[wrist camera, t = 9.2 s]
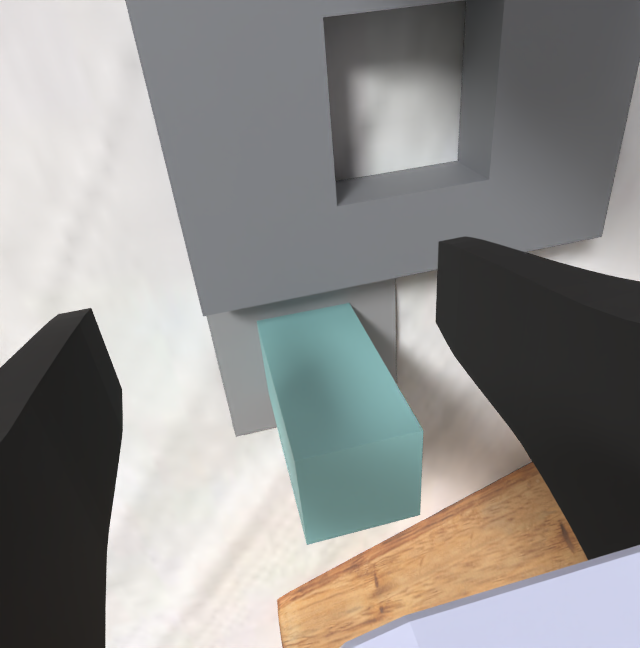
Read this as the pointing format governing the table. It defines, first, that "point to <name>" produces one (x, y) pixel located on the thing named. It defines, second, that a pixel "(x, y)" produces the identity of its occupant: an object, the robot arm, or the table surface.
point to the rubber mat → (246, 355)
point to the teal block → (340, 423)
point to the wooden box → (435, 563)
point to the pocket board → (388, 188)
